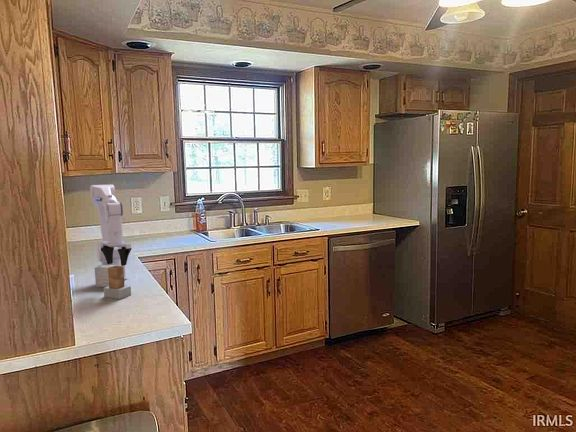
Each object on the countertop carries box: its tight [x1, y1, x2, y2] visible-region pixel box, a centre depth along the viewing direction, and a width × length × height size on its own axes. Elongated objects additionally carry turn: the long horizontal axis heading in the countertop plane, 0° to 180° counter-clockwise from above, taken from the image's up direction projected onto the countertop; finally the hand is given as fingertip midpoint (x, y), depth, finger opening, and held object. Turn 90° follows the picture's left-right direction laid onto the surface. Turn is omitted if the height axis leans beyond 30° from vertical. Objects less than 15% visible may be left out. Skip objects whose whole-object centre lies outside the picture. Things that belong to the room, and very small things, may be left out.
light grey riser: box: [103, 284, 132, 300], centre depth 171 cm, size 6×8×4 cm
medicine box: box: [94, 264, 117, 288], centre depth 184 cm, size 8×4×9 cm, turn 91°
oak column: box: [108, 266, 125, 289], centre depth 170 cm, size 4×4×8 cm
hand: (116, 264), depth 178 cm, fingers open, 7 cm apart
